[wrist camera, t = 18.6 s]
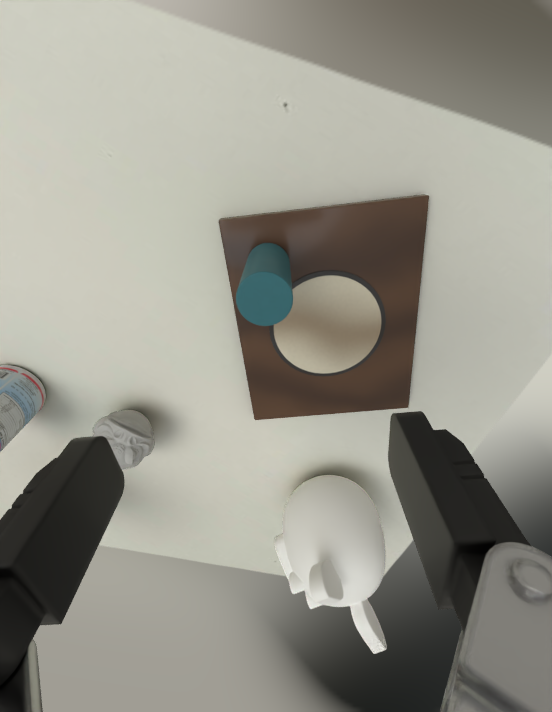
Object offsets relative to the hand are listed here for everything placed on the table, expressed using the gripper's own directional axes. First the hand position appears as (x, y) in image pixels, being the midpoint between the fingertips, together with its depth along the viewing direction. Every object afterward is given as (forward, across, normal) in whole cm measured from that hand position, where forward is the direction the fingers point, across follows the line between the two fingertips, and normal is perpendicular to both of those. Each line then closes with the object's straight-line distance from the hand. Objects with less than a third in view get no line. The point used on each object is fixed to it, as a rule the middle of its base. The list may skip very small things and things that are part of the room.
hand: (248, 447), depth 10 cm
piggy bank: (+22, -4, +30) cm, 37 cm away
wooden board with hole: (+22, -4, +6) cm, 23 cm away
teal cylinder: (+21, 0, 0) cm, 21 cm away
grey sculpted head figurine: (+22, +16, +16) cm, 32 cm away
